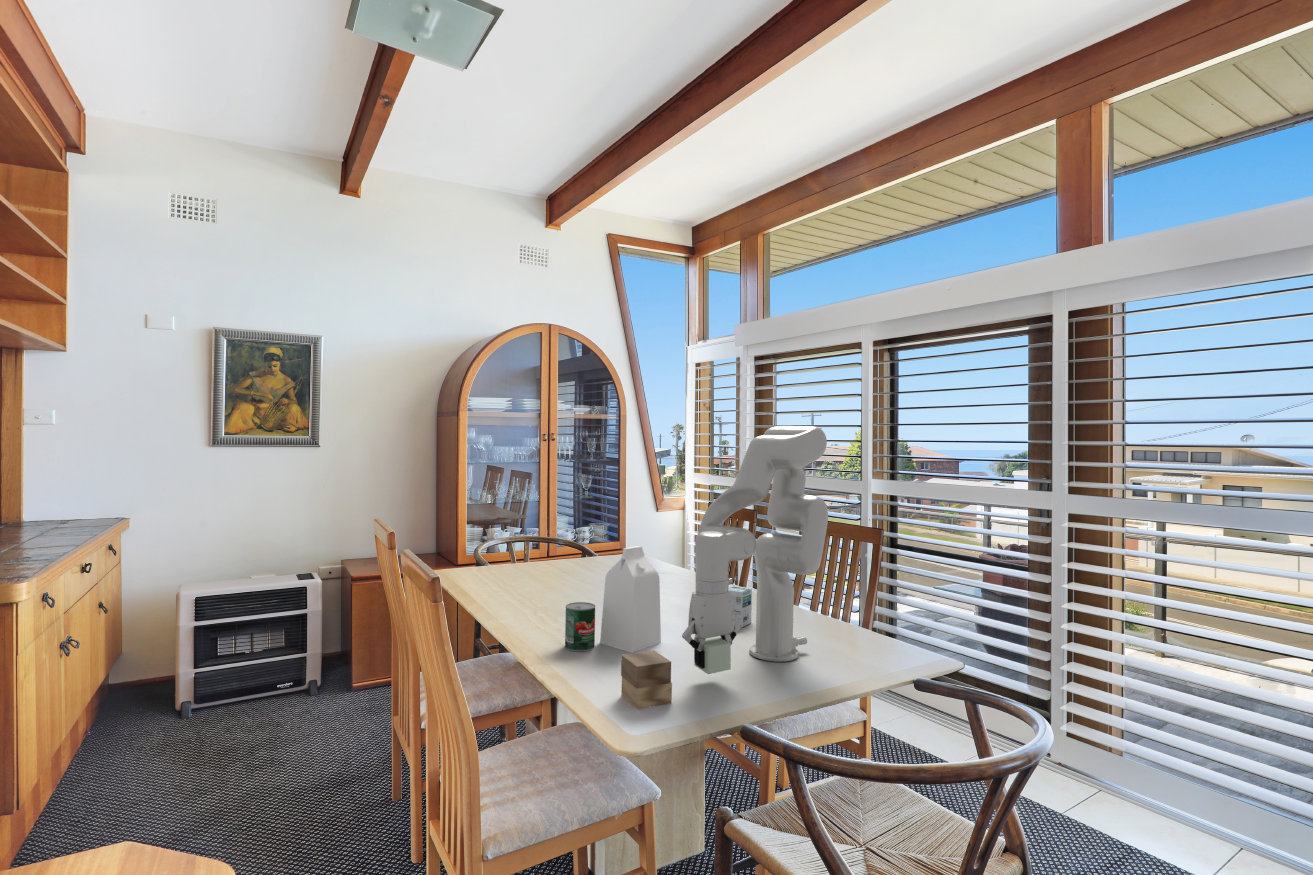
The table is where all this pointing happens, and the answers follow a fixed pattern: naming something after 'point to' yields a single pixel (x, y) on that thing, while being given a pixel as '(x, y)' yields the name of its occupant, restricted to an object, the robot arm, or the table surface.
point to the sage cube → (716, 655)
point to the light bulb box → (741, 604)
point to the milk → (631, 603)
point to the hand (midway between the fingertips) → (712, 662)
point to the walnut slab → (645, 669)
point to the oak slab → (647, 695)
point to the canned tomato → (580, 626)
